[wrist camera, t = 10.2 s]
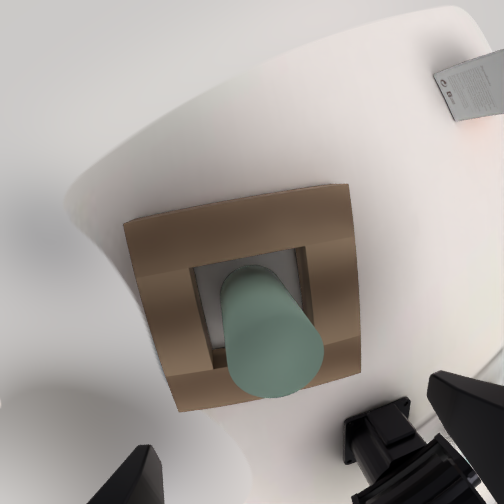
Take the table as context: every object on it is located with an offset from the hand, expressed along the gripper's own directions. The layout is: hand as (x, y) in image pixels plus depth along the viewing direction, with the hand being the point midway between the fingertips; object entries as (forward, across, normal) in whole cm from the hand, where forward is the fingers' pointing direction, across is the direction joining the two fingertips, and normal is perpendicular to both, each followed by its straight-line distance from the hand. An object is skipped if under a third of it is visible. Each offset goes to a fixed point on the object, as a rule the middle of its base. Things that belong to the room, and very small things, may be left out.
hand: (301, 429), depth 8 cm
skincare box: (+12, -20, -13) cm, 27 cm away
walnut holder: (+12, 0, 0) cm, 12 cm away
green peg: (+12, 0, 0) cm, 12 cm away
